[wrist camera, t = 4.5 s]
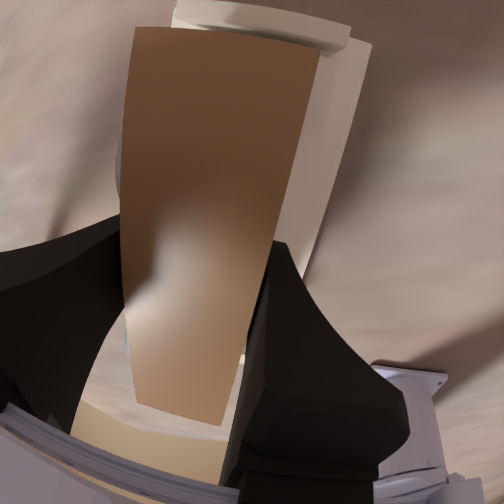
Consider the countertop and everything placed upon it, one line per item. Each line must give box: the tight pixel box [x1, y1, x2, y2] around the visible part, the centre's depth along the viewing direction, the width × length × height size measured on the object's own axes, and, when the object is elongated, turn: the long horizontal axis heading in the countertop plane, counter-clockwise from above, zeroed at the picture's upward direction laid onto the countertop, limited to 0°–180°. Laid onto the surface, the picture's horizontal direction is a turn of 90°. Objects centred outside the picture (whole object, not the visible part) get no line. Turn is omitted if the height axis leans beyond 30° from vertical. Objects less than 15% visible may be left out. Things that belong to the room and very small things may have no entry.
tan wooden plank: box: [116, 27, 321, 426], centre depth 10 cm, size 13×4×4 cm, turn 169°
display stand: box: [171, 0, 372, 364], centre depth 15 cm, size 17×9×4 cm, turn 169°
